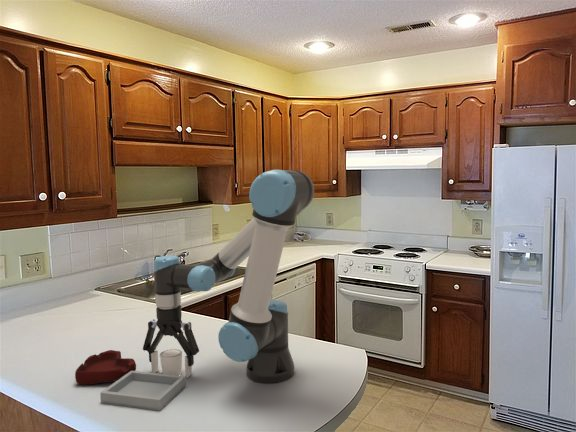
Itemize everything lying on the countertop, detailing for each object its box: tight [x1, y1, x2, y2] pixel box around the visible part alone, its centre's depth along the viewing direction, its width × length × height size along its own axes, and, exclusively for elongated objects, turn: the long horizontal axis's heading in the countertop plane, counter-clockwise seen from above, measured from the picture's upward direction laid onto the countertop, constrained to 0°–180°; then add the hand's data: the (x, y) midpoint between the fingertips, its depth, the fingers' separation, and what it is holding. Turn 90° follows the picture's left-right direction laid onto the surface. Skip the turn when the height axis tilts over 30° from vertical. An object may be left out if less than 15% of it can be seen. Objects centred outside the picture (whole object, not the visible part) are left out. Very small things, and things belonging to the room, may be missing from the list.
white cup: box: [159, 348, 183, 376], centre depth 142 cm, size 7×7×7 cm
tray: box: [100, 370, 187, 412], centre depth 129 cm, size 18×14×3 cm
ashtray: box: [74, 349, 137, 386], centre depth 141 cm, size 18×16×5 cm
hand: (171, 373), depth 142 cm, fingers open, 11 cm apart
